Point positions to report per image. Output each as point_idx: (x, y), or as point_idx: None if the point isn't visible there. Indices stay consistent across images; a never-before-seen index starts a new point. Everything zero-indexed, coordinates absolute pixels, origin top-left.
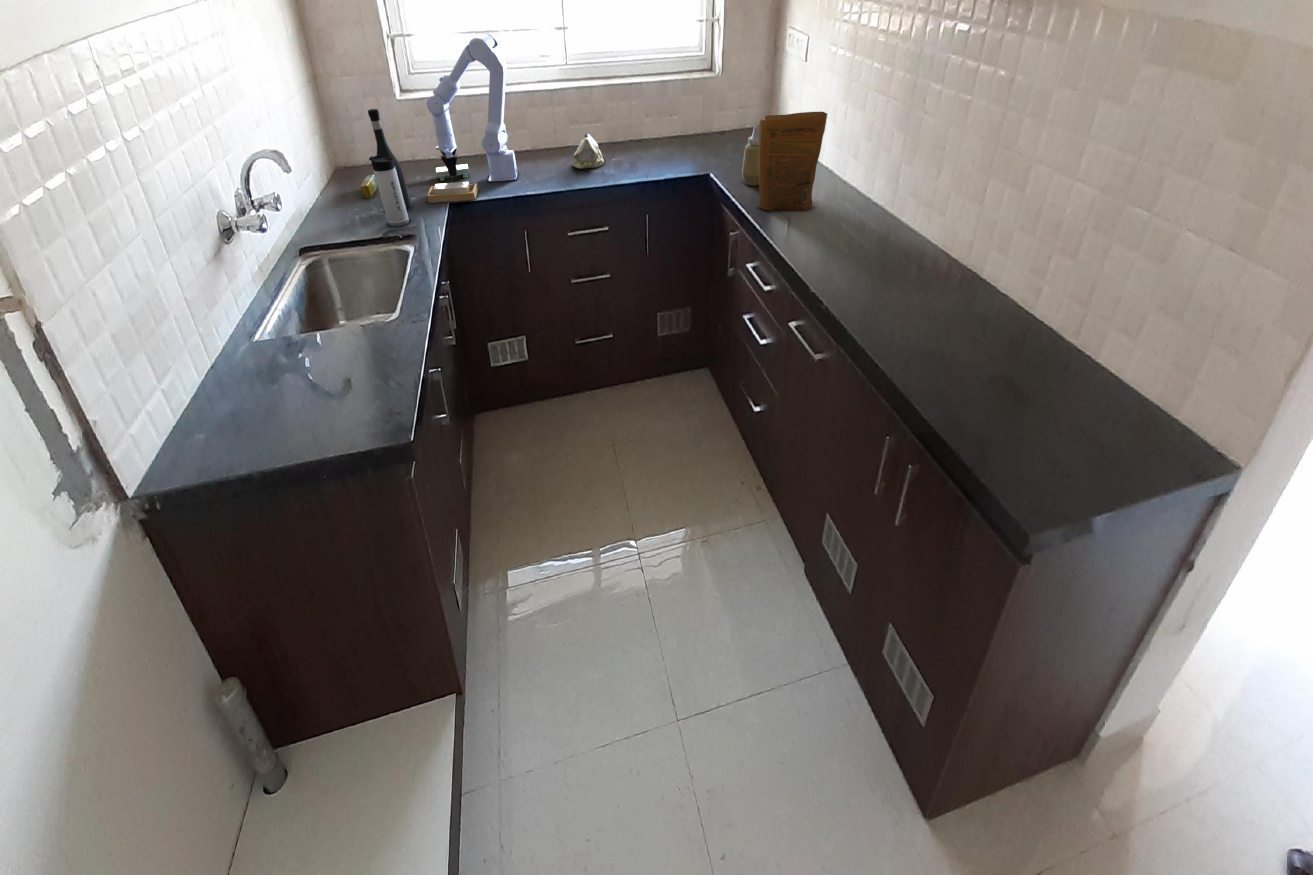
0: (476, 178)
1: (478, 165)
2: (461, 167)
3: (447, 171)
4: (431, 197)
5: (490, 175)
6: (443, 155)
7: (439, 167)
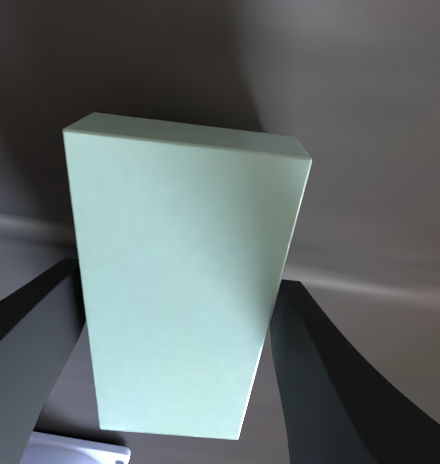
0: (92, 382)
1: None
2: (150, 399)
3: (83, 273)
4: None
5: (31, 460)
6: (355, 432)
7: (287, 213)
